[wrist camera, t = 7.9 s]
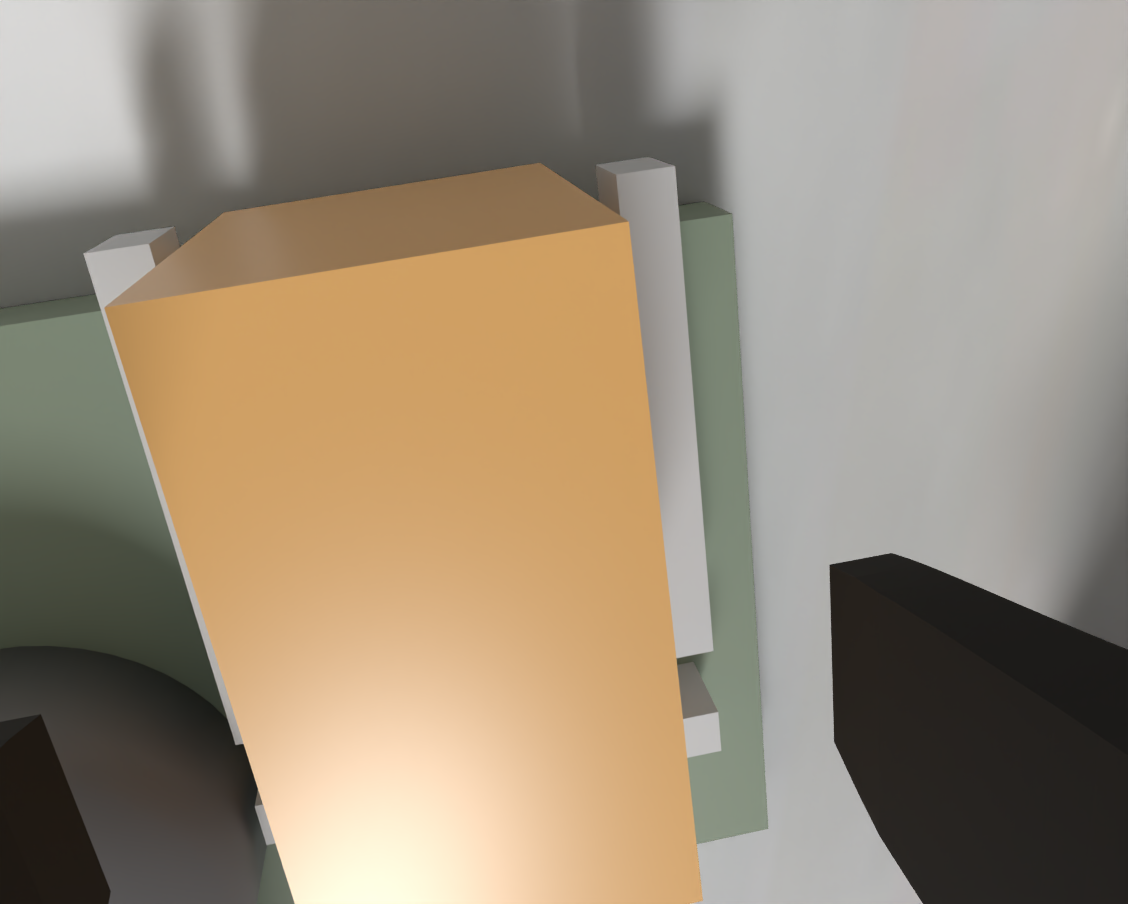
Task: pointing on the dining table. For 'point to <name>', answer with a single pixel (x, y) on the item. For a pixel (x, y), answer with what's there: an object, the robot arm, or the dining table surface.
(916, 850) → the robot arm
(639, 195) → the pale green tray
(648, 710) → the tan rectangular prism
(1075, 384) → the dining table surface
